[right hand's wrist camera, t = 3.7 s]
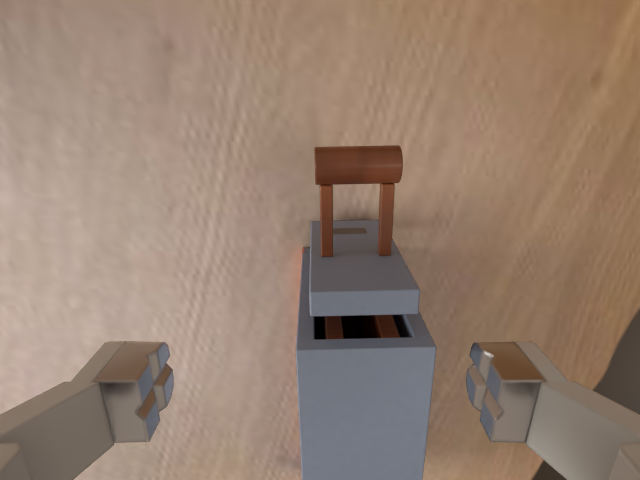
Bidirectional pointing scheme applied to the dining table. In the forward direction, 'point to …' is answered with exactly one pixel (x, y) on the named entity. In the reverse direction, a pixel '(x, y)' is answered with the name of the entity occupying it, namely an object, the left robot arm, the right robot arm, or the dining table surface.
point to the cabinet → (362, 398)
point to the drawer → (358, 249)
